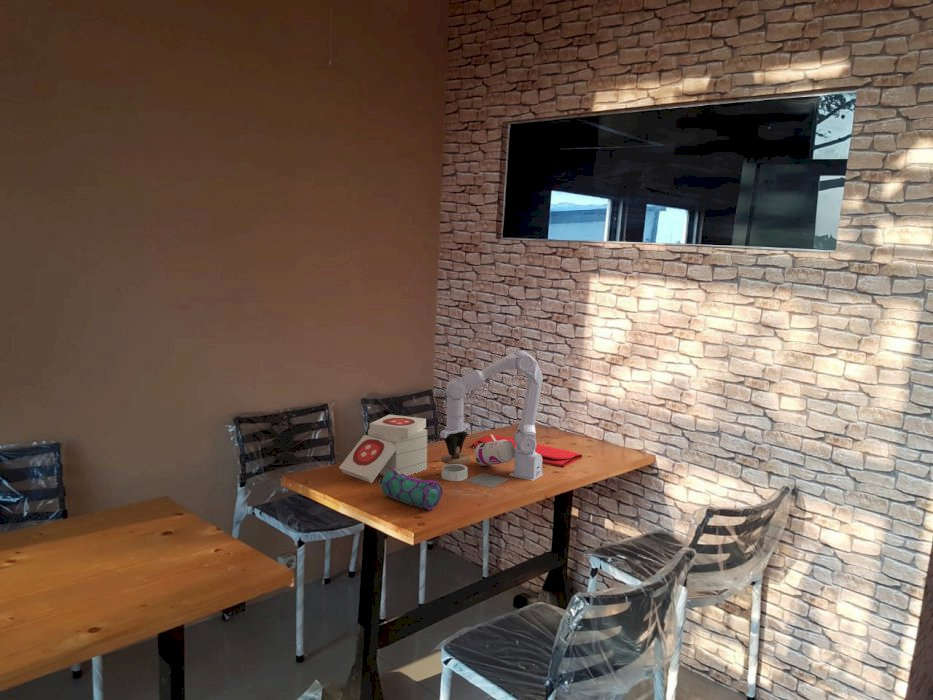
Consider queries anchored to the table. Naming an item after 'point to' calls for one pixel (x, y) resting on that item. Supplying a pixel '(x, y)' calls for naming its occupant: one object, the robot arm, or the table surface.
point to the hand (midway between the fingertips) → (454, 453)
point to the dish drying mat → (539, 451)
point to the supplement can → (494, 452)
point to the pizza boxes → (389, 448)
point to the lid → (455, 458)
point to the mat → (487, 480)
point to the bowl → (454, 472)
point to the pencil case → (411, 489)
